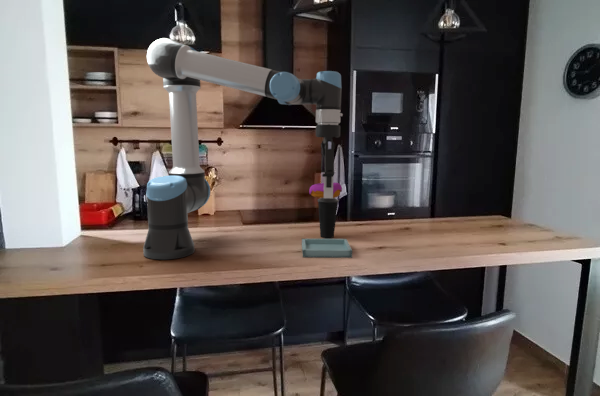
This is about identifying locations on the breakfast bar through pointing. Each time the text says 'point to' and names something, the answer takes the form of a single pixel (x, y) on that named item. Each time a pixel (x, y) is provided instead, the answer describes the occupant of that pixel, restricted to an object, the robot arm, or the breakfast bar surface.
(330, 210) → the drinking cup
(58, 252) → the breakfast bar surface
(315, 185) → the donut
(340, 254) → the tray
